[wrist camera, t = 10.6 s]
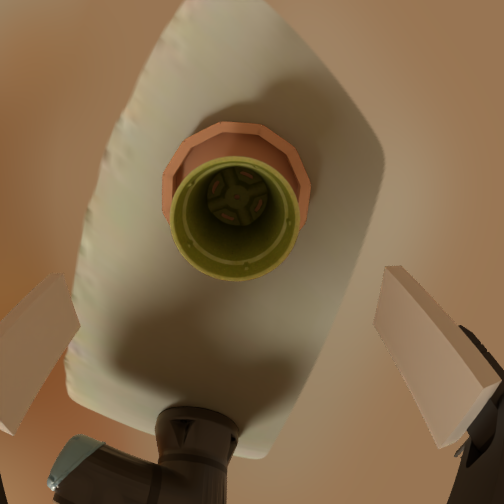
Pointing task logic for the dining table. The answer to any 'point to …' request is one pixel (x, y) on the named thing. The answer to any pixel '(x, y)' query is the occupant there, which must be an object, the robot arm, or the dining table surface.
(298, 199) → the terracotta plant saucer
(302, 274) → the dining table surface
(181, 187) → the plant pot
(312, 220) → the dining table surface
